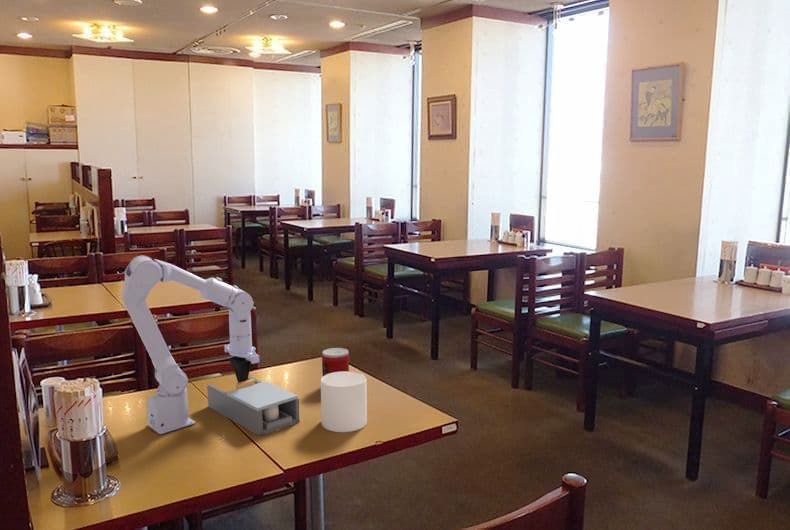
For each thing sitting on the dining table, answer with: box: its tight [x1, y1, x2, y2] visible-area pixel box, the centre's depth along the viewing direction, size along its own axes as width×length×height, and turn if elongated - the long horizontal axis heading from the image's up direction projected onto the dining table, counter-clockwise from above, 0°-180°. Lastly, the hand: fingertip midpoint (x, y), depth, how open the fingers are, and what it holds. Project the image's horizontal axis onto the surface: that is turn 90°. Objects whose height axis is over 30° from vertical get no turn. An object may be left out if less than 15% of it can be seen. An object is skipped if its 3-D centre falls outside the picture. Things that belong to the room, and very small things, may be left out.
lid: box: [226, 378, 299, 411], centre depth 165 cm, size 12×16×2 cm
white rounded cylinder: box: [263, 405, 279, 423], centre depth 162 cm, size 4×4×5 cm
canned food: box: [321, 347, 350, 377], centre depth 189 cm, size 8×8×11 cm
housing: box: [206, 376, 300, 436], centre depth 169 cm, size 12×26×6 cm, turn 44°
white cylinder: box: [320, 370, 368, 433], centre depth 163 cm, size 12×12×12 cm
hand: (242, 382), depth 171 cm, fingers closed
